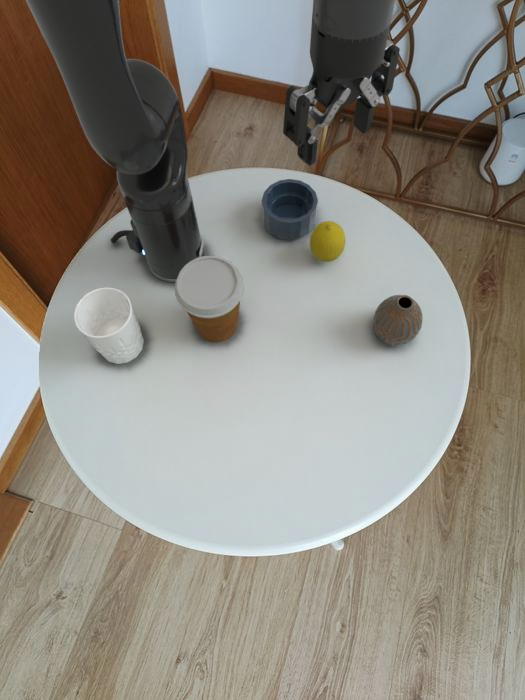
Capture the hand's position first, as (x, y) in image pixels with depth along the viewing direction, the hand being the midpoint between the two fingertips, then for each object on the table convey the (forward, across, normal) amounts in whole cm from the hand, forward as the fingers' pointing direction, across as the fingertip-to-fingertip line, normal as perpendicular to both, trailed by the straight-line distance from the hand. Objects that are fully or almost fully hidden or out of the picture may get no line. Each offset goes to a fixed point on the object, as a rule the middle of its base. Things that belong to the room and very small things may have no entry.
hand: (334, 144), depth 65 cm
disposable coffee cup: (+25, +20, -1) cm, 32 cm away
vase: (+25, -1, +17) cm, 30 cm away
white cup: (+25, +33, -7) cm, 42 cm away
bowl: (+25, -2, -10) cm, 27 cm away
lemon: (+25, -2, 0) cm, 25 cm away
